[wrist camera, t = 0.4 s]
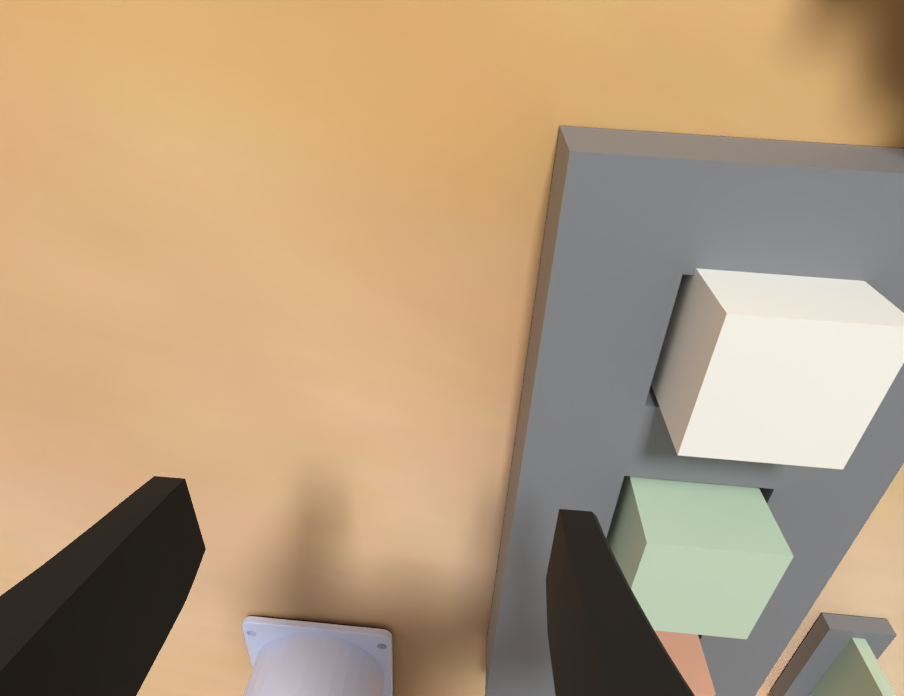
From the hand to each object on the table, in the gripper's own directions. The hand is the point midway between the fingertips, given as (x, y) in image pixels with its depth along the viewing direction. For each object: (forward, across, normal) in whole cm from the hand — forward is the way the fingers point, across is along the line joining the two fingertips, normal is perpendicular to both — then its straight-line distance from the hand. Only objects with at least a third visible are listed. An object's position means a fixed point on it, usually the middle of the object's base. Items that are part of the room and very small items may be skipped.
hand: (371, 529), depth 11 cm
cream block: (+9, -10, -1) cm, 13 cm away
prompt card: (+10, -20, +19) cm, 30 cm away
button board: (+10, -10, +7) cm, 16 cm away
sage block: (+9, -10, +7) cm, 15 cm away
